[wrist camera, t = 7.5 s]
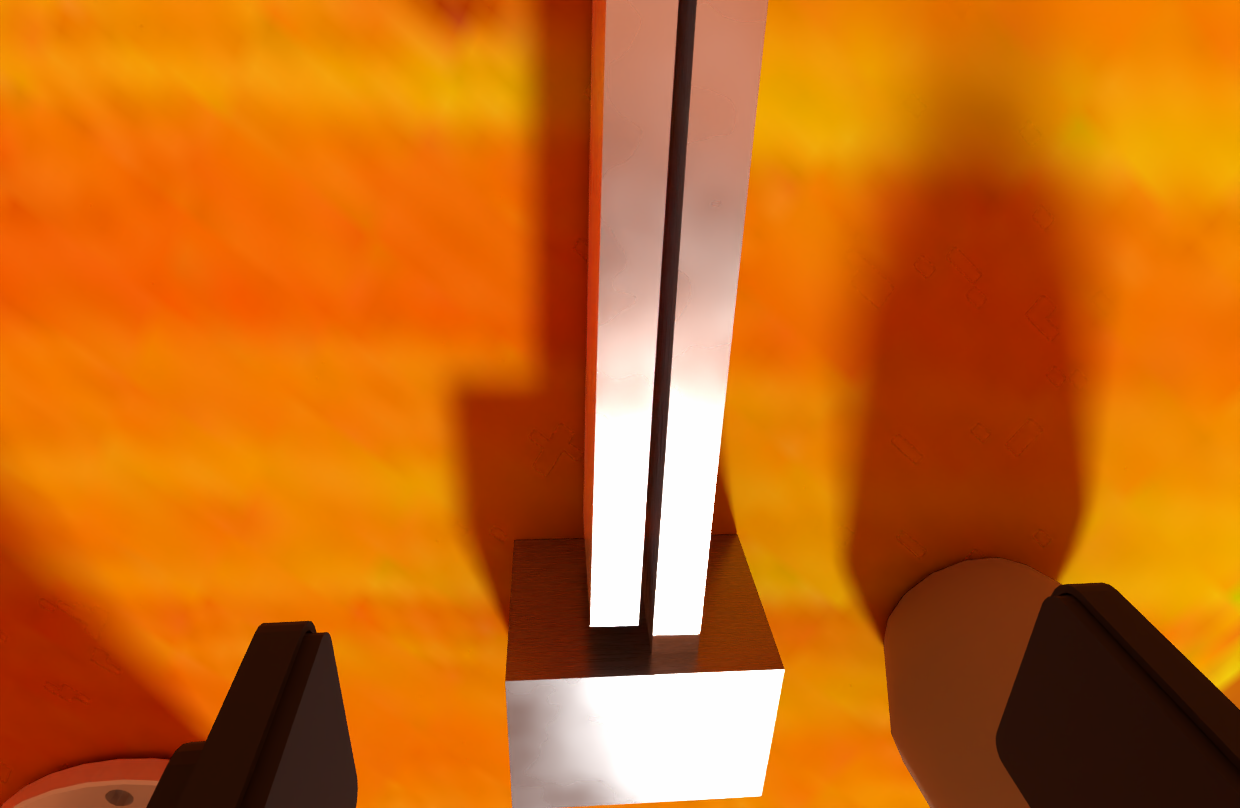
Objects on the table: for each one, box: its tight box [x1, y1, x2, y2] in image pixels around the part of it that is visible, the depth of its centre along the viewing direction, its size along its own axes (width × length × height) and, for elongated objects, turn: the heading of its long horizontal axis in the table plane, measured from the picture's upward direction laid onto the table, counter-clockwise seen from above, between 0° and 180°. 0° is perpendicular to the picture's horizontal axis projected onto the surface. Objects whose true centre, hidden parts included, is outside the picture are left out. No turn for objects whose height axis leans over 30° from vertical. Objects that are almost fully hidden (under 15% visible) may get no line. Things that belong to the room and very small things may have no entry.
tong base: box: [505, 0, 784, 808], centre depth 18 cm, size 24×7×6 cm, turn 178°
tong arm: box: [583, 0, 679, 627], centre depth 17 cm, size 19×1×5 cm, turn 178°
